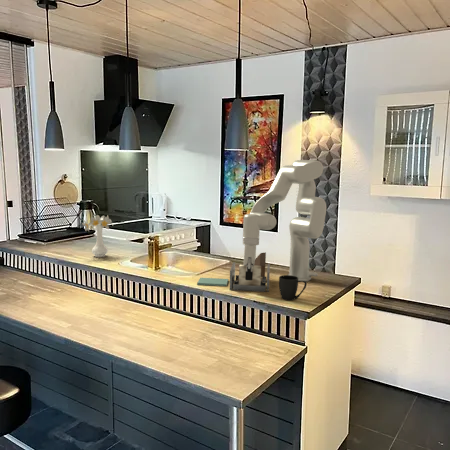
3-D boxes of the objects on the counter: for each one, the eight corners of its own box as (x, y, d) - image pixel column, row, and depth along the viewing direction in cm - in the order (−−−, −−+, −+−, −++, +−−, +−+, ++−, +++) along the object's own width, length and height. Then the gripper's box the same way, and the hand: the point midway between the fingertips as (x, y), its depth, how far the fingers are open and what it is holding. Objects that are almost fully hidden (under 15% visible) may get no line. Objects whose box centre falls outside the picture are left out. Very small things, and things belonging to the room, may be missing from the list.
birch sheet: (260, 288, 208) (261, 265, 207) (260, 290, 206) (260, 266, 204) (238, 287, 209) (239, 264, 208) (238, 289, 207) (239, 265, 205)
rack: (269, 281, 221) (269, 263, 220) (268, 292, 203) (269, 272, 202) (232, 279, 223) (233, 262, 221) (229, 290, 205) (230, 270, 203)
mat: (228, 280, 220) (228, 278, 220) (226, 286, 210) (226, 284, 210) (200, 279, 222) (200, 277, 221) (197, 284, 212) (197, 282, 212)
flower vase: (79, 257, 265) (78, 215, 262) (104, 252, 280) (104, 213, 276) (93, 260, 257) (92, 217, 254) (118, 255, 272) (118, 215, 269)
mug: (302, 304, 186) (303, 282, 185) (275, 299, 192) (276, 278, 191) (308, 299, 193) (309, 278, 192) (282, 294, 199) (283, 274, 198)
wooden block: (259, 281, 222) (261, 245, 219) (245, 276, 230) (246, 242, 227) (265, 279, 224) (266, 244, 221) (250, 275, 232) (251, 241, 230)
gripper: (243, 237, 213) (242, 272, 215) (241, 243, 196) (240, 281, 198) (259, 238, 212) (257, 273, 215) (258, 244, 195) (256, 282, 198)
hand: (249, 277), depth 206 cm, fingers open, 9 cm apart
